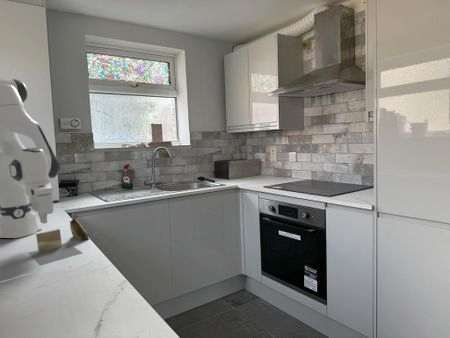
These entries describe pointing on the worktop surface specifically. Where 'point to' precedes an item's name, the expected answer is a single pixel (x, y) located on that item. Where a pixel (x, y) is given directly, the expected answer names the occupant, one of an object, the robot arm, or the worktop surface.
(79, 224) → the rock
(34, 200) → the robot arm
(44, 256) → the mat
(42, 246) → the coaster
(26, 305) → the worktop surface
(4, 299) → the worktop surface
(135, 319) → the worktop surface
